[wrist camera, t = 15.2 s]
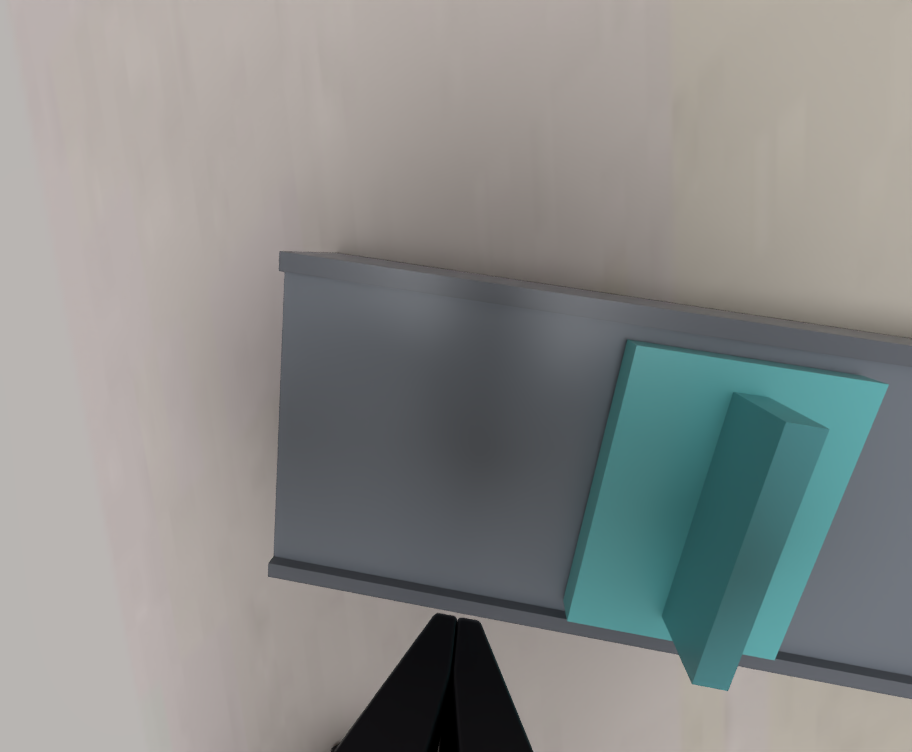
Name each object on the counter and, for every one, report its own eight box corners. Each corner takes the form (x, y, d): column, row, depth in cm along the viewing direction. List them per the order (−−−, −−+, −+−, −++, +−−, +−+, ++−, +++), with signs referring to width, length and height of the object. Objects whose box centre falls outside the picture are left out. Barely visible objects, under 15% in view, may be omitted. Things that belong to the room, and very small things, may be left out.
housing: (841, 601, 20) (942, 705, 16) (318, 507, 22) (268, 576, 17) (955, 345, 17) (1125, 378, 13) (335, 252, 19) (279, 251, 14)
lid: (758, 636, 16) (826, 736, 13) (563, 600, 17) (579, 687, 13) (861, 375, 14) (980, 414, 10) (627, 339, 14) (667, 365, 11)
